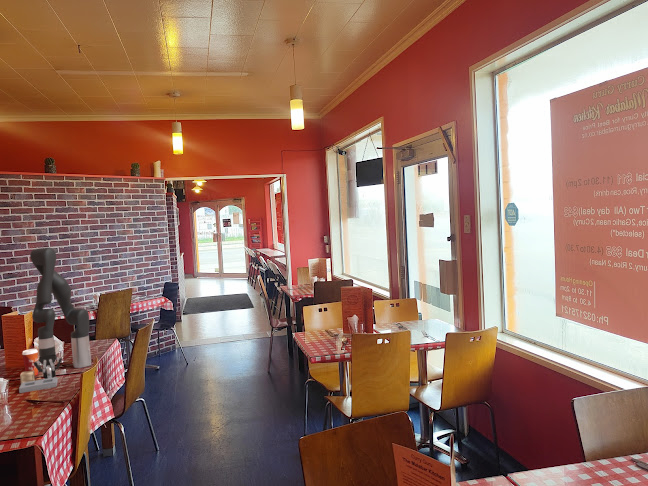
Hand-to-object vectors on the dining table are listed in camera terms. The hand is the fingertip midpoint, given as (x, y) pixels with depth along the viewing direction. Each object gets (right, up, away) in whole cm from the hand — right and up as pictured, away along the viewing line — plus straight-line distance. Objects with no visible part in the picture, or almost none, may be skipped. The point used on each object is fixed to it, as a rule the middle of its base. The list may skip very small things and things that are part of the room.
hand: (49, 378), depth 260 cm
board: (+1, -2, -11) cm, 11 cm away
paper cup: (-16, -2, +11) cm, 20 cm away
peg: (0, -1, 0) cm, 1 cm away
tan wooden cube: (-9, -2, -4) cm, 10 cm away
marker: (-8, -1, +3) cm, 9 cm away
